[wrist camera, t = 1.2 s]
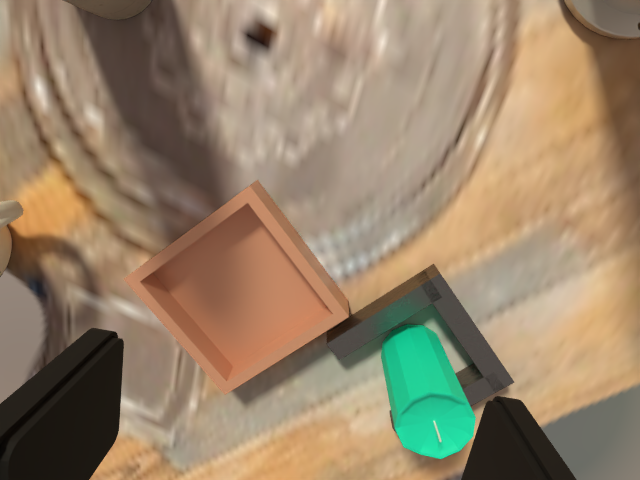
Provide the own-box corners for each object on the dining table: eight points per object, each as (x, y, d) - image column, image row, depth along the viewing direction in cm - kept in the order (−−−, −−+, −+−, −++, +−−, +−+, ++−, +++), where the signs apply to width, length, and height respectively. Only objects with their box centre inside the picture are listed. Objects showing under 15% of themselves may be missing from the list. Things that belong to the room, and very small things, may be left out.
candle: (393, 315, 40) (416, 393, 29) (452, 334, 41) (498, 419, 29) (372, 367, 42) (385, 461, 30) (428, 385, 42) (463, 485, 31)
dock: (433, 263, 39) (440, 273, 36) (504, 367, 41) (514, 382, 39) (327, 330, 41) (326, 344, 38) (400, 424, 43) (403, 442, 41)
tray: (257, 179, 37) (249, 185, 34) (348, 300, 40) (349, 316, 37) (141, 265, 40) (123, 279, 36) (233, 373, 43) (225, 394, 39)
